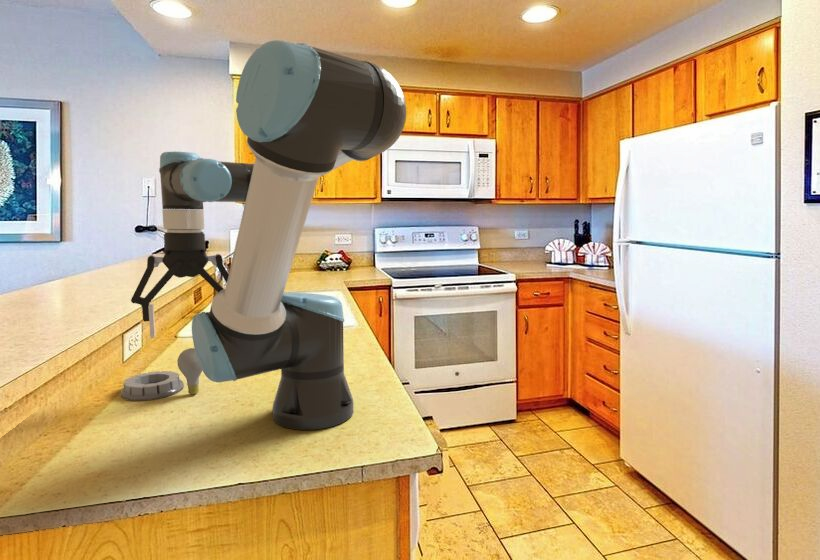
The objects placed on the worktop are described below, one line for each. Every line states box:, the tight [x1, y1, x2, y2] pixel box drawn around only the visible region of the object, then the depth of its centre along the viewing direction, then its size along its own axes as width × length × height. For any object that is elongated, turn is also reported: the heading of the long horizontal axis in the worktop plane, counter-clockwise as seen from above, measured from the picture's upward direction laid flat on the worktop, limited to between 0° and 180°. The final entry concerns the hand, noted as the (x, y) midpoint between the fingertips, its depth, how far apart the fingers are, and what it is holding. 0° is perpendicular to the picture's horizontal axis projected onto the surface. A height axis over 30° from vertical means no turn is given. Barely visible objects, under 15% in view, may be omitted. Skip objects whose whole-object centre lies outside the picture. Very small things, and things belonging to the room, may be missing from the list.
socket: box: [120, 370, 184, 402], centre depth 106 cm, size 12×12×3 cm
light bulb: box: [177, 347, 203, 396], centre depth 104 cm, size 6×5×10 cm
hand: (189, 333), depth 103 cm, fingers open, 13 cm apart
